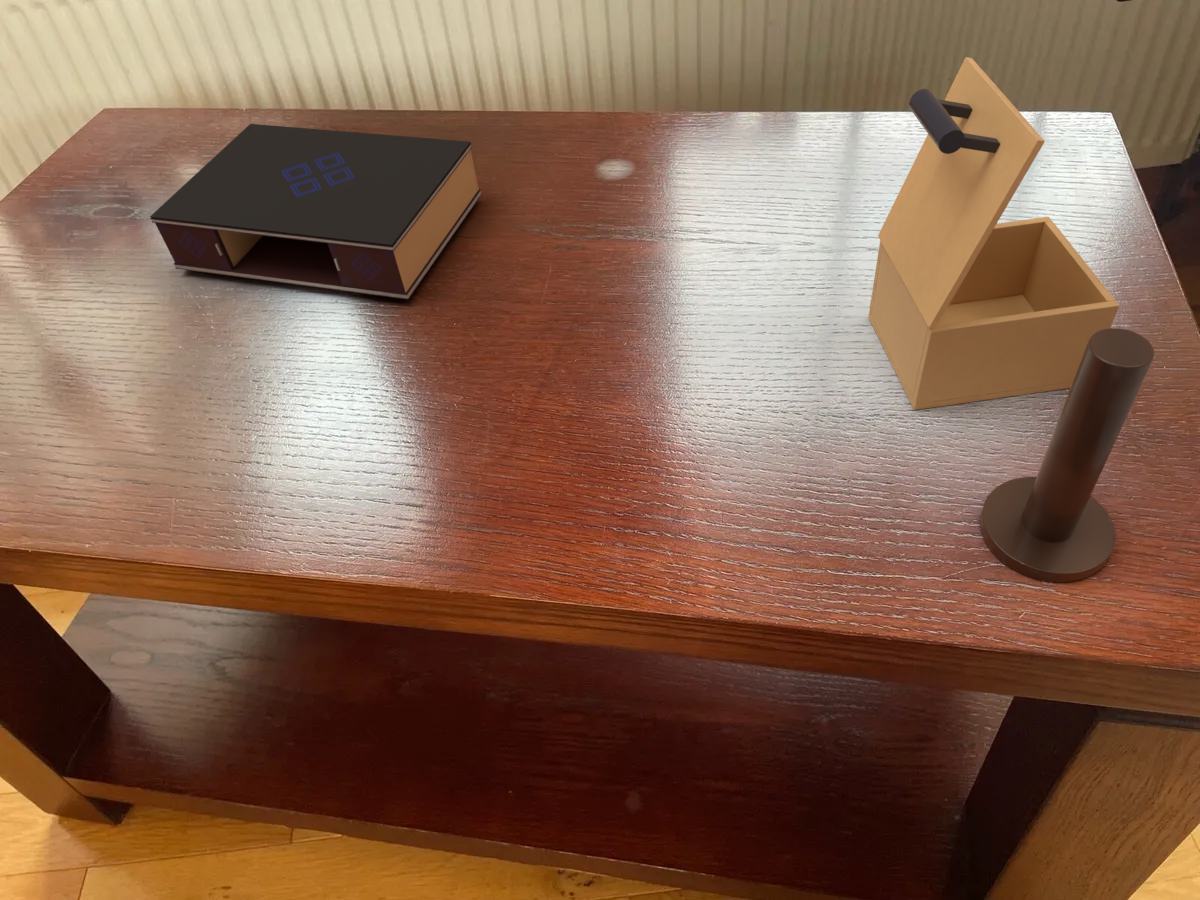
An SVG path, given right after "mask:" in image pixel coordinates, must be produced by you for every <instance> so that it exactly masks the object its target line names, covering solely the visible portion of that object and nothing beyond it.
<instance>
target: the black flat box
mask: <svg viewBox="0 0 1200 900" xmlns="http://www.w3.org/2000/svg"><path fill="white" fill-rule="evenodd" d="M472 148H473V146H472V143H471V141H468V140H467V141H466V140H454V139H442V138H431V137H430V138H429V137H420V136H419V137H418V136H406V135H394V134H382V133H381V134H380V133H368V132H357V131H347V130H346V131H343V130H332V129H319V128H310V127H309V128H307V127H296V126H283V125H270V124H260V123H249V124H248V125H247V126H246V127H245V128H244V129H243V130H242V131H241V132H239V133H238V134H237V135H236V136H235V137H234V138H233V139H232V140H231V141H230V142H229V143H227V144H226V145H225V146H224V147H223V148H222V149H221V150H220V151H219V152H218V153H217V154H216V155H215V156H213V157H212V158H211V160H209V161H208V162H207V163H206V164H205V165H204V166H203V167H202V168H201V169H199V170H198V171H197V172H196V173H195V174H194V175H193V176H192V177H191V178H190V179H189V180H188V181H186V183H184V185H182V186H181V187H180V188H179V189H178V190H177V191H175V193H174V194H172V196H170V197H169V198H168V199H167V200H166V201H165V202H164V203H163V204H162V205H161V206H159V207H158V208H157V209H156V210H155V211H154V212H153V213H151V215H150V216H149V220H151V223H152V224H155V226H156V228H157V230H158V232H159V234H160V236H161V238H162V240H163V242H164V244H165V246H166V248H167V249H168V251H169V254H170V255H171V258H172V260H173V261H174V262H173V265H174V267H175V269H176V270H184V271H189V272H190V271H191V272H198V273H206V274H212V275H213V274H214V275H220V276H228V277H236V278H242V279H243V278H244V279H250V280H258V281H265V282H274V283H281V284H289V285H295V286H302V287H310V288H318V289H324V290H333V291H341V292H349V293H356V294H364V295H371V296H377V297H385V298H392V299H399V300H410V298H411V296H412V295H413V293H414V292H415V291H416V289H417V288H418V286H419V285H420V283H422V281H423V280H424V278H425V276H426V275H427V273H428V272H429V270H430V269H431V268H432V267H433V265H434V263H435V262H436V261H437V259H438V258H439V257H440V255H441V254H442V253H443V251H444V249H445V248H446V246H447V245H448V244H449V242H450V241H451V239H452V238H453V236H454V235H455V233H456V232H457V231H458V229H459V228H460V226H461V225H462V223H463V222H464V221H465V219H466V218H467V216H468V215H469V213H470V212H471V211H472V209H473V208H474V206H476V204H477V202H478V201H479V199H480V197H481V196H482V189H480V188H479V185H478V179H477V173H476V171H475V165H474V161H473V155H472V151H471V149H472Z"/></svg>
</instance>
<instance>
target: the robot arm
mask: <svg viewBox="0 0 1200 900" xmlns="http://www.w3.org/2000/svg"><path fill="white" fill-rule="evenodd" d="M1116 1H1117V2H1119V3H1120V2H1121V3H1122V2H1130V1H1132V0H1116Z"/></svg>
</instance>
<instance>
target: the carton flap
mask: <svg viewBox="0 0 1200 900" xmlns="http://www.w3.org/2000/svg"><path fill="white" fill-rule="evenodd" d="M908 107H909V109H910V111H911V112H912V113H913V115H914V117H915V118H916V119H917V121H918V122H919V123H920V125H921V127H923V129H924V130H925V132H926V134H927V135H926V137H925V138H924V141H923V143H922V145H921V147H920V149H919V151H918V153H917V155H916V157H915V159H914V161H913V163H912V165H911V167H910V170H909V172H908V173H907V175H906V177H905V179H904V182H903V184H902V186H901V188H900V190H899V191H898V194H897V195H896V198H895V200H894V202H893V203H892V206H891V208H890V209H889V212H888V215H887V217H886V218H885V220H884V223H883V225H882V227H881V228H880V230H879V232H878V235H877V237H878V239H879V242H880V241H881V242H882V244H883V246H884V248H885V250H886V251H887V253H888V255H889V257H890V259H891V260H892V262H893V264H894V266H895V268H896V269H897V271H898V273H899V275H900V277H901V278H902V280H903V282H904V284H905V286H906V287H907V289H908V291H909V293H910V295H911V296H912V298H913V300H914V302H915V304H916V305H917V307H918V309H919V311H920V313H921V314H922V316H923V318H924V320H925V322H926V323H927V325H928V327H929V328H936V326H937V324H938V322H939V321H940V319H941V317H942V316H943V314H944V312H945V311H946V309H947V307H948V305H949V304H950V302H951V300H952V299H953V297H954V295H955V294H956V292H957V290H958V288H959V287H960V285H961V283H962V282H963V280H964V278H965V277H966V275H967V273H968V271H969V270H970V268H971V266H972V265H973V263H974V261H975V260H976V258H977V256H978V254H979V253H980V251H981V249H982V248H983V246H984V244H985V243H986V241H987V239H988V237H989V236H990V234H991V232H992V231H993V229H994V227H995V226H996V224H998V222H999V221H1000V219H1001V217H1002V215H1003V214H1004V212H1005V211H1006V209H1007V207H1008V206H1009V203H1010V202H1011V200H1012V198H1013V197H1014V195H1015V193H1016V192H1017V190H1018V189H1019V186H1020V185H1021V183H1022V181H1023V180H1024V178H1025V177H1026V175H1027V172H1029V169H1030V168H1031V166H1032V164H1033V163H1034V161H1035V159H1036V158H1037V156H1038V155H1039V153H1040V151H1041V149H1042V147H1043V146H1044V144H1045V142H1046V141H1045V139H1044V138H1043V137H1042V136H1041V135H1040V134H1039V133H1038V131H1037V130H1036V129H1035V128H1034V127H1033V126H1032V125H1031V124H1030V122H1029V121H1028V120H1027V119H1026V118H1025V116H1024V115H1023V114H1022V113H1021V112H1020V111H1019V110H1018V109H1017V107H1015V105H1014V104H1013V103H1012V102H1011V101H1010V100H1009V98H1008V97H1006V95H1005V94H1004V92H1002V91H1001V89H1000V88H999V87H998V86H997V85H996V84H995V82H994V81H992V79H991V78H990V77H989V76H988V74H987V73H986V72H985V71H984V70H983V69H982V68H981V67H980V65H978V63H977V62H976V61H975V60H974V58H972V57H967V56H965V57H964V59H963V62H962V64H961V66H960V67H959V70H958V72H957V73H956V76H955V78H954V80H953V82H952V84H951V86H950V88H949V90H948V92H947V94H946V96H945V98H944V99H939V98H937V97H936V95H935V94H934V93H933V92H932V91H931V90H930V89H929V88H922V89H919V90H917V91H915V92H914V93H913V94H912V95H911V97H910V98H909V101H908Z"/></svg>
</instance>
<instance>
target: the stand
mask: <svg viewBox="0 0 1200 900" xmlns="http://www.w3.org/2000/svg"><path fill="white" fill-rule="evenodd" d="M1154 359H1155V349H1154V346H1153V344H1152V343H1151V342H1150V341H1149V340H1148V339H1147V338H1146V337H1144V336H1143V335H1141V334H1139V333H1137V332H1135V331H1132V330H1128V329H1124V328H1119V327H1118V328H1117V327H1114V328H1113V327H1111V328H1109V329H1103V330H1100V331H1098V332H1096V333H1094V334H1093V335H1092V336H1091V337H1090V339H1089V341H1088V344H1087V347H1086V349H1085V352H1084V354H1083V357H1082V360H1081V362H1080V365H1079V367H1078V370H1077V373H1076V375H1075V378H1074V380H1073V383H1072V386H1071V388H1069V390H1068V394H1067V396H1066V399H1065V402H1064V404H1063V407H1062V410H1061V412H1060V415H1059V416H1058V417H1059V418H1058V420H1057V423H1056V425H1055V427H1054V430H1053V433H1052V436H1051V438H1050V441H1049V444H1048V446H1047V448H1046V452H1045V454H1044V457H1043V459H1042V462H1041V464H1040V466H1039V470H1038V472H1037V474H1036V476H1022V477H1018V478H1017V477H1016V478H1013V479H1010V480H1007V481H1005V482H1003V483H1000V485H998V486H997V487H995V488H994V489H993V490H992V491H991V492H990V493H989V494H988V495H987V497H986V498H985V501H984V503H983V506H982V508H981V512H980V515H979V529H980V534H981V536H982V539H983V541H984V543H985V545H986V546H987V548H988V549H989V550H990V552H991V553H992V554H993V555H994V556H995V557H996V558H997V560H999V561H1000V562H1002V564H1004V565H1005V566H1006V567H1008V568H1010V569H1011V570H1013V571H1015V572H1016V573H1019V574H1021V575H1023V576H1026V577H1028V578H1032V579H1034V580H1037V581H1038V580H1039V581H1043V582H1049V583H1073V582H1078V581H1081V580H1083V579H1088V578H1089V577H1091V576H1093V575H1095V574H1096V573H1097V572H1099V571H1100V570H1101V569H1103V567H1104V566H1105V565H1106V563H1107V562H1108V560H1109V558H1110V556H1111V554H1112V553H1113V550H1114V548H1115V543H1116V530H1115V529H1116V528H1115V525H1114V522H1113V520H1112V519H1111V515H1110V514H1109V513H1108V511H1107V510H1106V508H1104V506H1103V505H1102V504H1101V503H1100V502H1099V501H1098V500H1097V499H1096V498H1094V497H1093V496H1092V493H1093V492H1094V489H1095V487H1096V485H1097V483H1098V482H1099V481H1098V480H1099V478H1100V476H1101V474H1102V472H1103V469H1104V467H1105V465H1106V463H1107V461H1108V459H1109V456H1110V455H1111V452H1112V450H1113V448H1114V446H1115V443H1116V441H1117V439H1118V437H1119V434H1120V433H1121V430H1122V428H1123V426H1124V424H1125V422H1126V419H1127V417H1128V415H1129V412H1131V411H1130V410H1131V409H1132V406H1133V404H1134V402H1135V399H1136V398H1137V395H1138V393H1139V391H1140V389H1141V387H1142V384H1143V382H1144V380H1145V378H1146V376H1147V373H1148V371H1149V369H1150V367H1151V365H1152V362H1153V361H1154Z"/></svg>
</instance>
